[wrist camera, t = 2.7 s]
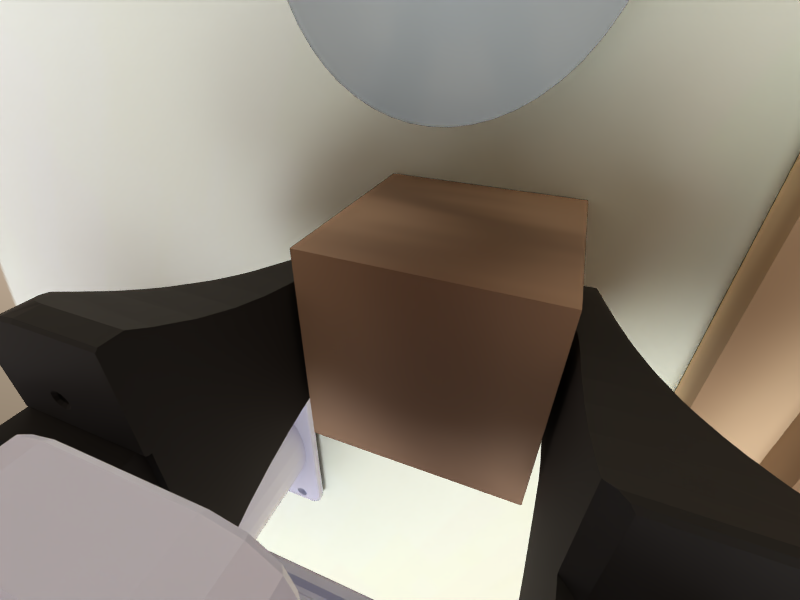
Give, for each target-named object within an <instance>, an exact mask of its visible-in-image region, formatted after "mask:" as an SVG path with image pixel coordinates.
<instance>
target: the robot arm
mask: <svg viewBox="0 0 800 600" xmlns="http://www.w3.org/2000/svg"><path fill="white" fill-rule="evenodd" d="M0 365H1V367H2V368H3V370H4V371H5V373H6V374H7V376H8V377H9V379H10V380H11V382H12V383H13V385H14V387H15V388H16V390H17V391H18V393H19V394H20V396H21V397H22V399H23V400H24V402H25V403H26V405H27V406H28V407H27V408H26V409H24V410H22V411H21V412H19V413H18V414H16V415H15V416H13V417H12V418H11V419H9V420H7V421H6V422H4V423H3V424H1V425H0V600H373V599H371V598H369V597H367V596H365V595H362V594H360V593H358V592H356V591H354V590H352V589H349V588H347V587H345V586H343V585H341V584H339V583H337V582H334V581H332V580H330V579H328V578H326V577H324V576H321V575H319V574H317V573H315V572H313V571H311V570H309V569H306V568H304V567H302V566H300V565H298V564H296V563H293V562H291V561H289V560H287V559H285V558H283V557H281V556H278V555H276V554H274V553H272V552H270V551H268V550H266V549H265V548H264V547H263V546H262V545H261V544H260V543H259V542H258V541H257V540H256V538H257V537H258V535H259V534H260V532H261V531H262V529H263V528H264V526H265V525H266V523H267V522H268V520H269V519H270V517H271V516H272V514H273V513H274V511H275V510H276V508H277V507H278V505H279V504H280V502H281V501H282V499H283V498H284V496H285V495H286V493H287V492H288V491H290V492H293V493H295V494H298V495H300V496H303V497H305V498H308V499H310V500H313V501H319V500H320V498H321V497H322V495H323V487H322V480H321V472H320V465H319V457H318V450H317V442H316V435H315V432H314V425H313V418H312V410H311V403H310V395H309V388H308V380H307V373H306V366H305V358H304V351H303V343H302V336H301V328H300V321H299V313H298V306H297V298H296V291H295V284H294V276H293V269H292V261H291V260H289V261H286V262H283V263H279V264H276V265H273V266H269V267H266V268H263V269H259V270H256V271H252V272H248V273H244V274H240V275H236V276H231V277H227V278H222V279H217V280H212V281H206V282H199V283H192V284H185V285H178V286H172V287H163V288H152V289H140V290H125V291H93V292H48V293H45V294H41V295H38V296H36V297H34V298H32V299H30V300H28V301H26V302H24V303H22V304H20V305H18V306H16V307H14V308H11V309H10V310H7V311H5V312H3V313H1V314H0ZM519 600H800V493H799V492H797V491H796V490H794V489H793V488H791V487H790V486H788V485H787V484H785V483H784V482H783V481H781V480H780V479H779V478H777V477H776V476H774V475H773V474H772V473H770V472H769V471H768V470H766V469H765V468H764V467H762V466H761V465H759V464H758V463H757V462H755V461H754V460H753V459H751V458H750V457H749V456H747V455H746V454H745V453H743V452H742V451H741V450H740V449H738V448H737V447H736V446H734V445H733V444H732V443H731V442H729V441H728V440H727V439H726V438H724V437H723V436H722V435H721V434H720V433H718V432H717V431H716V430H715V429H714V428H713V427H711V426H710V425H709V424H708V423H707V422H706V421H704V420H703V419H702V418H701V417H700V416H699V415H698V414H696V413H695V412H694V411H693V410H692V409H691V408H690V407H689V406H688V405H687V404H686V403H684V402H683V401H682V400H681V399H680V398H679V397H678V396H677V395H676V394H675V393H674V392H673V391H672V390H671V388H670V387H669V386H668V385H667V384H666V383H665V382H664V381H663V380H662V379H661V378H660V377H659V376H658V375H657V374H656V373H655V372H654V370H653V369H652V368H651V367H650V366H649V365H648V363H647V362H646V361H645V360H644V358H643V357H642V356H641V355H640V354H639V352H638V351H637V350H636V349H635V347H634V346H633V345H632V343H631V342H630V340H629V339H628V338H627V336H626V335H625V333H624V332H623V330H622V329H621V327H620V326H619V324H618V323H617V321H616V320H615V318H614V316H613V315H612V313H611V312H610V310H609V308H608V306H607V305H606V303H605V301H604V300H603V298H602V296H601V295H600V293H599V291H598V290H597V288H592V287H587V286H583V302H582V312H581V315H580V318H579V322H578V325H577V328H576V331H575V334H574V338H573V341H572V344H571V347H570V350H569V354H568V357H567V360H566V363H565V367H564V370H563V373H562V376H561V379H560V383H559V386H558V389H557V392H556V395H555V399H554V402H553V405H552V408H551V411H550V415H549V418H548V421H547V424H546V428H545V431H544V434H543V437H542V441H541V462H540V472H539V481H538V488H537V494H536V501H535V507H534V513H533V520H532V526H531V532H530V538H529V544H528V550H527V556H526V562H525V568H524V574H523V580H522V586H521V591H520V597H519Z"/></svg>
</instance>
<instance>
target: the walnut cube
mask: <svg viewBox="0 0 800 600" xmlns="http://www.w3.org/2000/svg"><path fill="white" fill-rule="evenodd" d="M587 211H588V200H581V199H574V198H567V197H560V196H553V195H545V194H538V193H531V192H524V191H517V190H509V189H502V188H495V187H488V186H481V185H473V184H466V183H459V182H452V181H445V180H437V179H430V178H423V177H416V176H409V175H401V174H392V175H391V176H389V177H388V178H387V179H385V180H384V181H383V182H381V183H380V184H378V185H377V186H376V187H374V188H373V189H371V190H370V191H369V192H367V193H366V194H364V195H363V196H362V197H360V198H359V199H358V200H356V201H355V202H353V203H352V204H351V205H349V206H348V207H346V208H345V209H344V210H342V211H341V212H339V213H338V214H337V215H335V216H334V217H333V218H331V219H330V220H328V221H327V222H326V223H324V224H323V225H321V226H320V227H319V228H317V229H316V230H315V231H313V232H312V233H310V234H309V235H308V236H306V237H305V238H303V239H302V240H301V241H299V242H298V243H296V244H295V245H294V246H292V247H291V248H290V254H291V261H292V269H293V276H294V284H295V291H296V298H297V306H298V313H299V321H300V328H301V336H302V343H303V351H304V358H305V366H306V373H307V380H308V388H309V395H310V403H311V410H312V418H313V425H314V432H315V433H318V434H321V435H324V436H326V437H329V438H332V439H335V440H338V441H341V442H343V443H346V444H349V445H352V446H355V447H358V448H360V449H363V450H366V451H369V452H372V453H374V454H377V455H380V456H383V457H386V458H389V459H391V460H394V461H397V462H400V463H403V464H406V465H408V466H411V467H414V468H417V469H420V470H423V471H425V472H428V473H431V474H434V475H437V476H440V477H442V478H445V479H448V480H451V481H454V482H457V483H459V484H462V485H465V486H468V487H471V488H474V489H476V490H479V491H482V492H485V493H488V494H491V495H493V496H496V497H499V498H502V499H505V500H508V501H510V502H513V503H516V504H519V505H522V501H523V498H524V495H525V492H526V489H527V485H528V482H529V479H530V476H531V473H532V469H533V466H534V463H535V460H536V456H537V453H538V450H539V447H540V444H541V440H542V437H543V434H544V431H545V428H546V424H547V421H548V418H549V415H550V411H551V408H552V405H553V402H554V399H555V395H556V392H557V389H558V386H559V383H560V379H561V376H562V373H563V370H564V367H565V363H566V360H567V357H568V354H569V350H570V347H571V344H572V341H573V338H574V334H575V331H576V328H577V325H578V322H579V318H580V315H581V312H582V302H583V284H584V266H585V248H586V230H587Z"/></svg>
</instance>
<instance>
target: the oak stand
mask: <svg viewBox="0 0 800 600" xmlns="http://www.w3.org/2000/svg"><path fill="white" fill-rule="evenodd" d="M674 393H675V394H676V395H677V396H678V397H679V398H680V399H681V400H682V401H683V402H684V403H686V404H687V405H688V406H689V407H690V408H691V409H692V410H693V411H694V412H695V413H696V414H698V415H699V416H700V417H701V418H702V419H703V420H704V421H706V422H707V423H708V424H709V425H710V426H711V427H713V428H714V429H715V430H716V431H717V432H718V433H720V434H721V435H722V436H723V437H724V438H726V439H727V440H728V441H729V442H731V443H732V444H733V445H734V446H736V447H737V448H738V449H740V450H741V451H742V452H743V453H745V454H746V455H747V456H749V457H750V458H751V459H753V460H754V461H755V462H757V463H758V464H759V465H761V466H762V467H764V468H765V469H766V470H768V471H769V472H770V473H772V474H773V475H774V476H776V477H777V478H779V479H780V480H781V481H783V482H784V483H785V484H787V485H788V486H790V487H791V488H793V489H794V490H796V491H797V492H799V493H800V154H799V156H798V158H797V160H796V162H795V164H794V165H793V167H792V169H791V171H790V173H789V175H788V177H787V179H786V181H785V183H784V185H783V186H782V188H781V190H780V192H779V194H778V196H777V198H776V200H775V202H774V204H773V205H772V207H771V209H770V211H769V213H768V215H767V217H766V219H765V221H764V223H763V225H762V226H761V228H760V230H759V232H758V234H757V236H756V238H755V240H754V242H753V244H752V246H751V247H750V249H749V251H748V253H747V255H746V257H745V259H744V261H743V263H742V265H741V267H740V268H739V270H738V272H737V274H736V276H735V278H734V280H733V282H732V284H731V286H730V288H729V289H728V291H727V293H726V295H725V297H724V299H723V301H722V303H721V305H720V307H719V308H718V310H717V312H716V314H715V316H714V318H713V320H712V322H711V324H710V326H709V328H708V329H707V331H706V333H705V335H704V337H703V339H702V341H701V343H700V345H699V347H698V349H697V350H696V352H695V354H694V356H693V358H692V360H691V362H690V364H689V366H688V368H687V370H686V371H685V373H684V375H683V377H682V379H681V381H680V383H679V385H678V387H677V389H676V391H675V392H674Z"/></svg>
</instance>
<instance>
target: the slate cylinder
mask: <svg viewBox="0 0 800 600" xmlns="http://www.w3.org/2000/svg"><path fill="white" fill-rule="evenodd" d="M628 1H629V0H288V3H289V5H290V7H291V10H292V12H293V14H294V16H295V19H296V21H297V23H298V25H299V27H300V29H301V31H302V32H303V34H304V36H305V38H306V39H307V41H308V43H309V45H310V47H311V48H312V49H313V51H314V52H315V54H316V55H317V56H318V58H319V59H320V61H321V62H322V63H323V65H324V66H325V67H326V68H327V69H328V71H329V72H330V73H331V74H332V75H333V76H334V77H335V78H336V79H337V81H338V82H339V83H340V84H342V85H343V86H344V87H345V88H346V89H347V90H348V91H350V92H351V93H352V94H353V95H354V96H355V97H357V98H358V99H360V100H361V101H363V102H364V103H366V104H367V105H369V106H370V107H372V108H374V109H376V110H378V111H380V112H382V113H384V114H386V115H388V116H390V117H393V118H396V119H399V120H402V121H405V122H408V123H412V124H418V125H423V126H429V127H456V126H465V125H473V124H476V123H480V122H484V121H488V120H492V119H495V118H497V117H500V116H502V115H505V114H507V113H510V112H512V111H515V110H517V109H519V108H520V107H522V106H524V105H526V104H527V103H529V102H531V101H533V100H534V99H536V98H538V97H540V96H541V95H542V94H544V93H545V92H546V91H548V90H549V89H550V88H552V87H553V86H554V85H556V84H557V83H559V82H560V81H561V80H562V79H563V78H565V77H566V76H567V75H568V74H569V73H570V72H571V71H572V70H573V69H574V68H575V67H576V66H577V65H579V64H580V63H581V62H582V61H583V60H584V59H585V58H586V56H587V55H588V54H589V53H590V52H591V51H592V50H593V48H594V47H595V46H596V45H597V44H598V43H599V42H600V40H601V39H602V38H603V37H604V36H605V35H606V33H607V32H608V30H609V29H610V27H611V26H612V25H613V23H614V22H615V20H616V19H617V17H618V16H619V15H620V13H621V12H622V10H623V9H624V7H625V6H626V4H627V3H628Z"/></svg>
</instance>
